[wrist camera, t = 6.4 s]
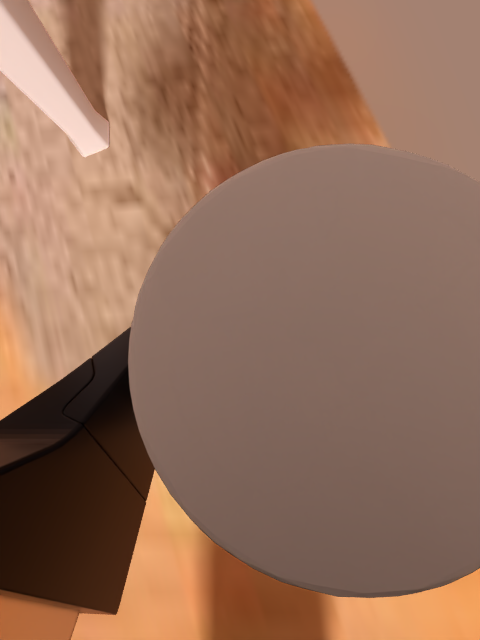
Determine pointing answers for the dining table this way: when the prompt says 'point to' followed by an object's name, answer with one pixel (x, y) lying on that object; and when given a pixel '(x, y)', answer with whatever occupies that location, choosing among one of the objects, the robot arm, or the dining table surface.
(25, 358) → the dining table surface
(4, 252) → the dining table surface
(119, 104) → the dining table surface
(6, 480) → the robot arm
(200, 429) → the supplement bottle
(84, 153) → the perfume bottle
